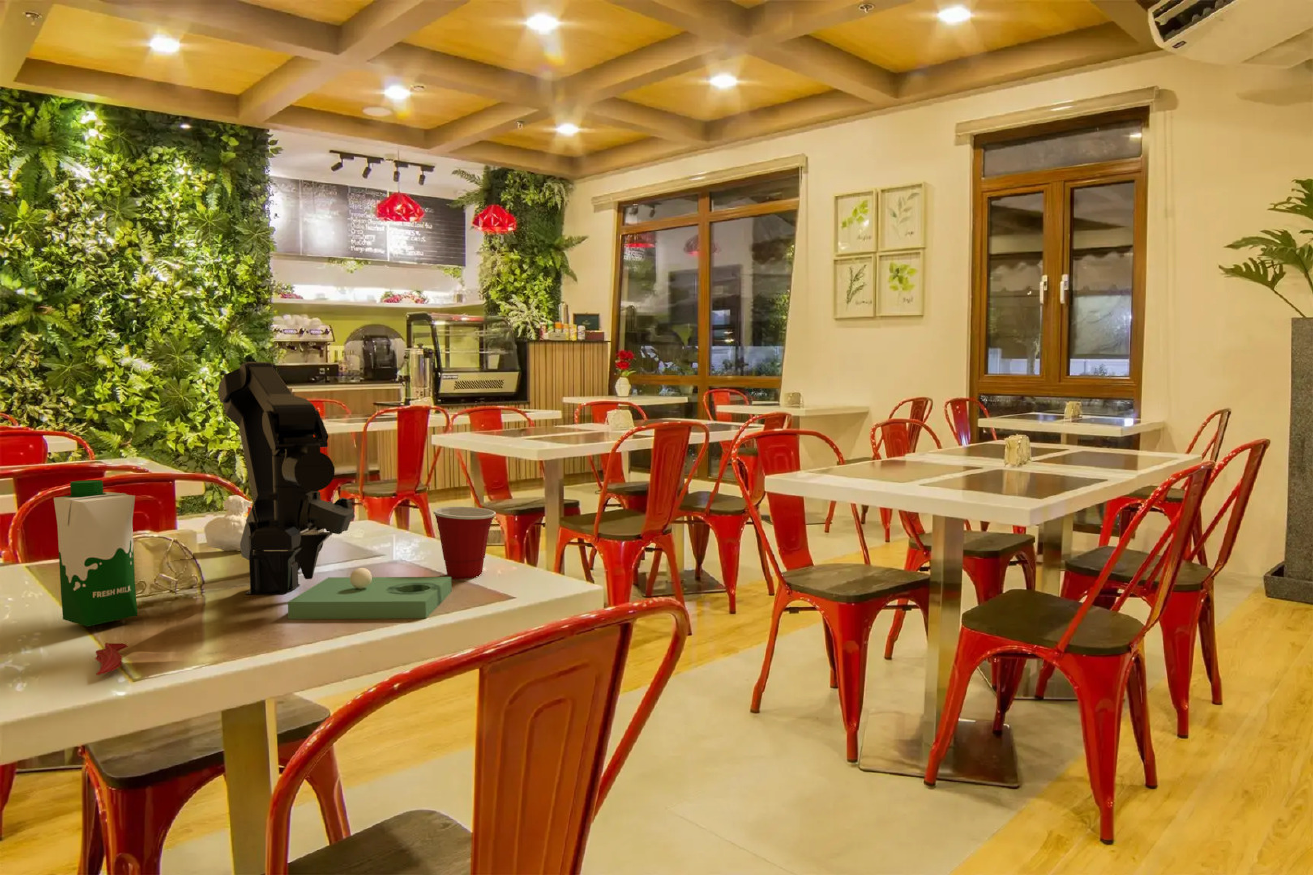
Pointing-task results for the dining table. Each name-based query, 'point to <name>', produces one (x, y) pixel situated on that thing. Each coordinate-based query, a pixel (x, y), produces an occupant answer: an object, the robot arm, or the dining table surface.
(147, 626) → the dining table surface
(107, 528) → the milk carton
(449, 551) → the plastic cup
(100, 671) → the cayenne pepper
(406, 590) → the putting mat
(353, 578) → the ball
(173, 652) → the dining table surface
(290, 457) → the robot arm
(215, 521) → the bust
